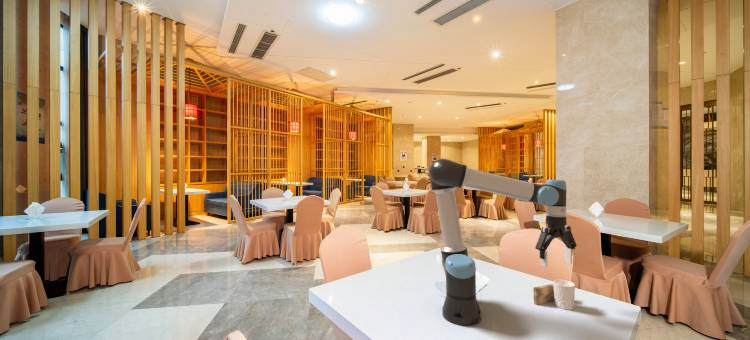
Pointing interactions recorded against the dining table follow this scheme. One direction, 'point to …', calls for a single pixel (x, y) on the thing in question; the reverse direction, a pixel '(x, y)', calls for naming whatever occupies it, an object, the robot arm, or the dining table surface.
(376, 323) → the dining table surface
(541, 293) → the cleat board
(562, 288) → the white cup
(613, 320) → the dining table surface
